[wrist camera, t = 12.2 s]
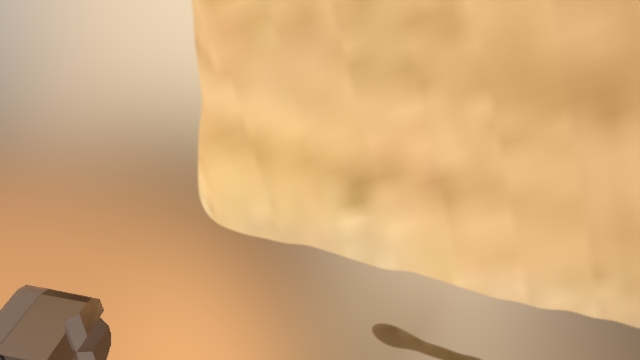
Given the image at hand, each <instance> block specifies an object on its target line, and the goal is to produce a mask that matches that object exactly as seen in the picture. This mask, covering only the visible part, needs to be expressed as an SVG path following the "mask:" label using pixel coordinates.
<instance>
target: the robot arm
mask: <svg viewBox="0 0 640 360" xmlns="http://www.w3.org/2000/svg"><path fill="white" fill-rule="evenodd" d="M103 311H104V309H103V307H102V304H101V301H100V299H97V298H92V297H87V296H82V295H77V294H71V293H67V292H61V291H56V290H52V289H47V288H41V287H35V286H30V285H25V286H24V287H22V288H20V289H18V290H17V291H16V293H14V295H13V296H12V297H11V298H10V299H9V301H8V302H7V303H6V304H5V305H4V307H3V308H2V309H1V310H0V360H106V359H107V356H108V353H109V349H110V346H111V332H110V329H109V326H108V325H107V324H106V323H105V322H104V321H103V320H102V319H101V318H100V316H101V314H102V313H103Z"/></svg>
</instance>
